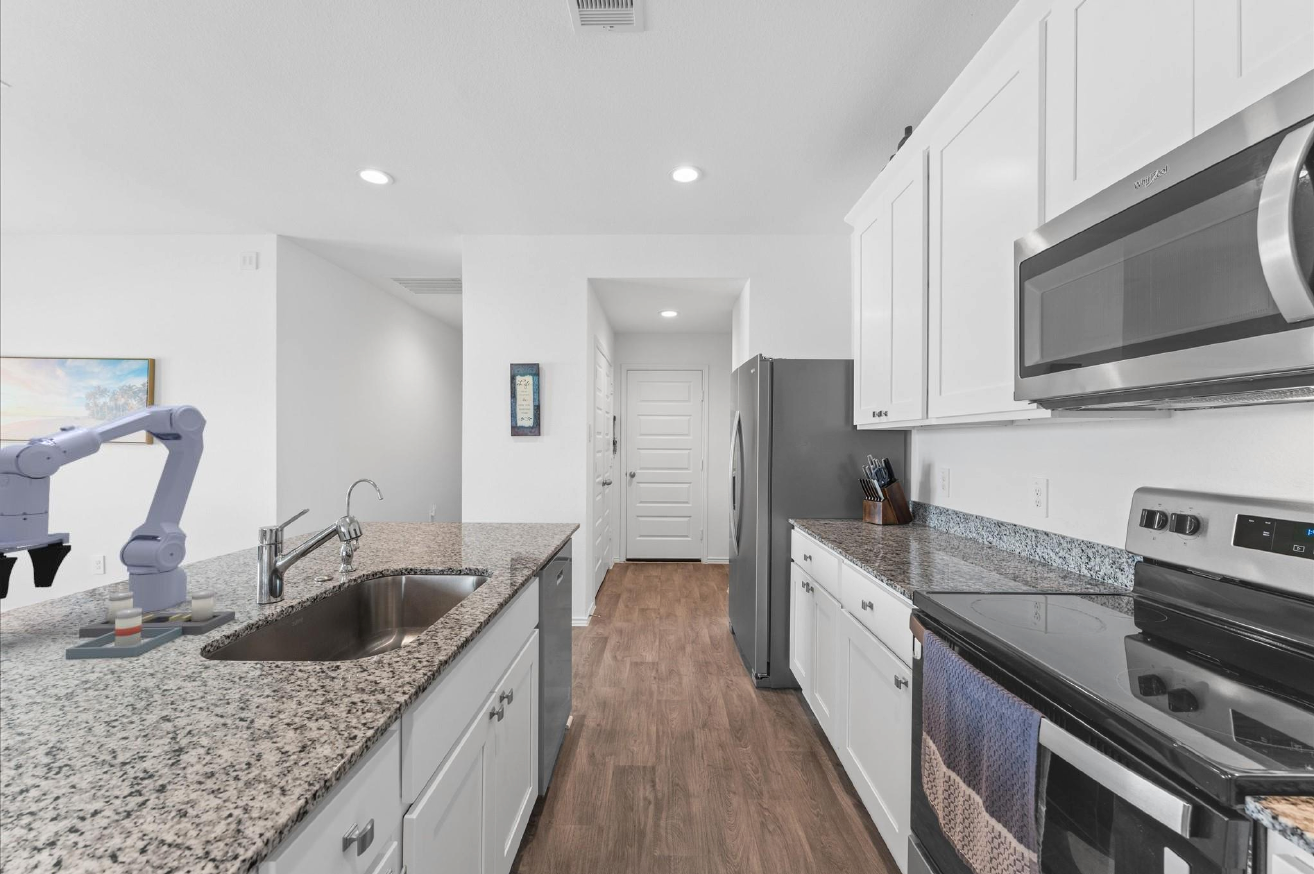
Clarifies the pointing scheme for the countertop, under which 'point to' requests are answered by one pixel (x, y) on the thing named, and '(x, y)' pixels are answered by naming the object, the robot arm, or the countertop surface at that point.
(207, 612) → the fuse
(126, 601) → the fuse
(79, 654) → the tray
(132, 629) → the marked fuse
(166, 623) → the fuse holder
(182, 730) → the countertop surface
